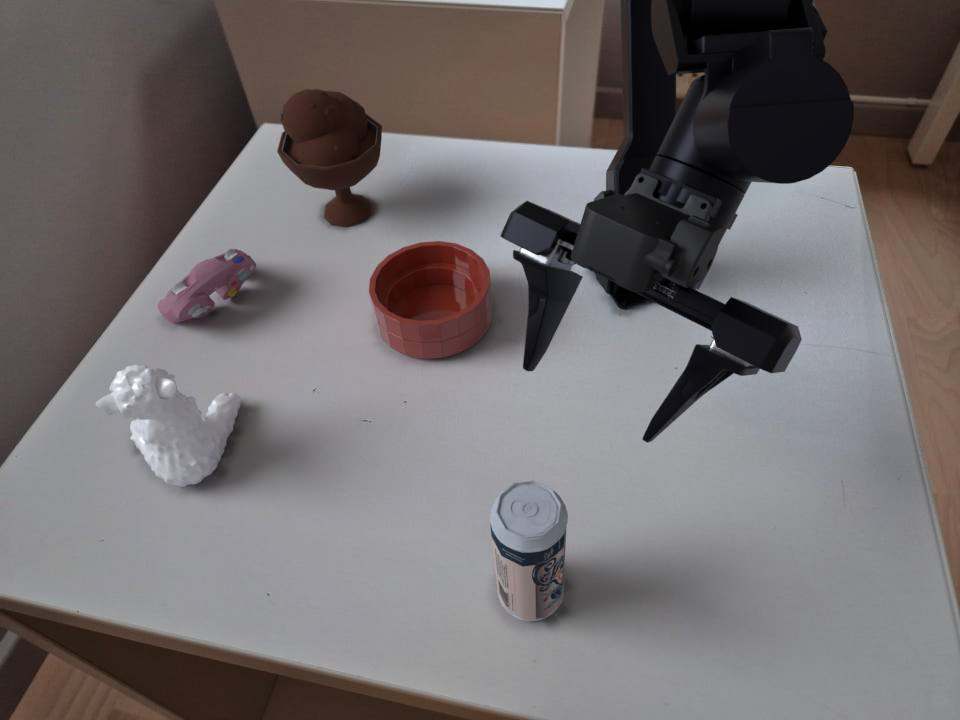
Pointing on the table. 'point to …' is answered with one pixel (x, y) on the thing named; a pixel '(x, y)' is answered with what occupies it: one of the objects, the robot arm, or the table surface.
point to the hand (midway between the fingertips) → (584, 404)
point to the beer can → (529, 549)
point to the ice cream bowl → (331, 149)
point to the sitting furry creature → (171, 423)
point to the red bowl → (431, 299)
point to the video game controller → (207, 285)
